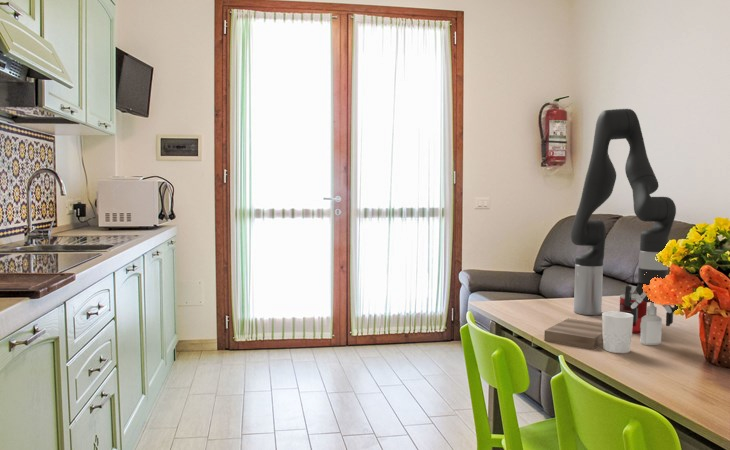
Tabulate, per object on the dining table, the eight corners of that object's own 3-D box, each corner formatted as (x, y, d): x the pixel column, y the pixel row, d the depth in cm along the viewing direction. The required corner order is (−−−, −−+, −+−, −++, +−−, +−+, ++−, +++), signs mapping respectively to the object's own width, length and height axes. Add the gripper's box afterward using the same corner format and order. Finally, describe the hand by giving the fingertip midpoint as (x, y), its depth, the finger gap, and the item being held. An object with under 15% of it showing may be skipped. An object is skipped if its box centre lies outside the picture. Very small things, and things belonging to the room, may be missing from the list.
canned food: (644, 328, 181) (645, 294, 180) (647, 334, 174) (649, 299, 173) (617, 326, 184) (618, 292, 183) (620, 332, 176) (621, 297, 175)
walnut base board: (567, 327, 182) (568, 318, 182) (614, 334, 173) (614, 324, 173) (544, 340, 167) (544, 330, 166) (593, 349, 158) (594, 338, 158)
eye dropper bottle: (663, 346, 161) (664, 304, 160) (641, 345, 162) (642, 303, 161) (659, 342, 165) (661, 301, 164) (638, 341, 166) (639, 300, 166)
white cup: (596, 345, 161) (597, 311, 160) (624, 346, 161) (626, 311, 160) (607, 354, 153) (608, 317, 153) (637, 354, 153) (638, 317, 152)
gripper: (684, 267, 160) (682, 324, 161) (629, 263, 169) (628, 317, 170) (678, 270, 155) (676, 329, 156) (622, 266, 164) (621, 322, 164)
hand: (651, 323), depth 163 cm, fingers open, 8 cm apart
